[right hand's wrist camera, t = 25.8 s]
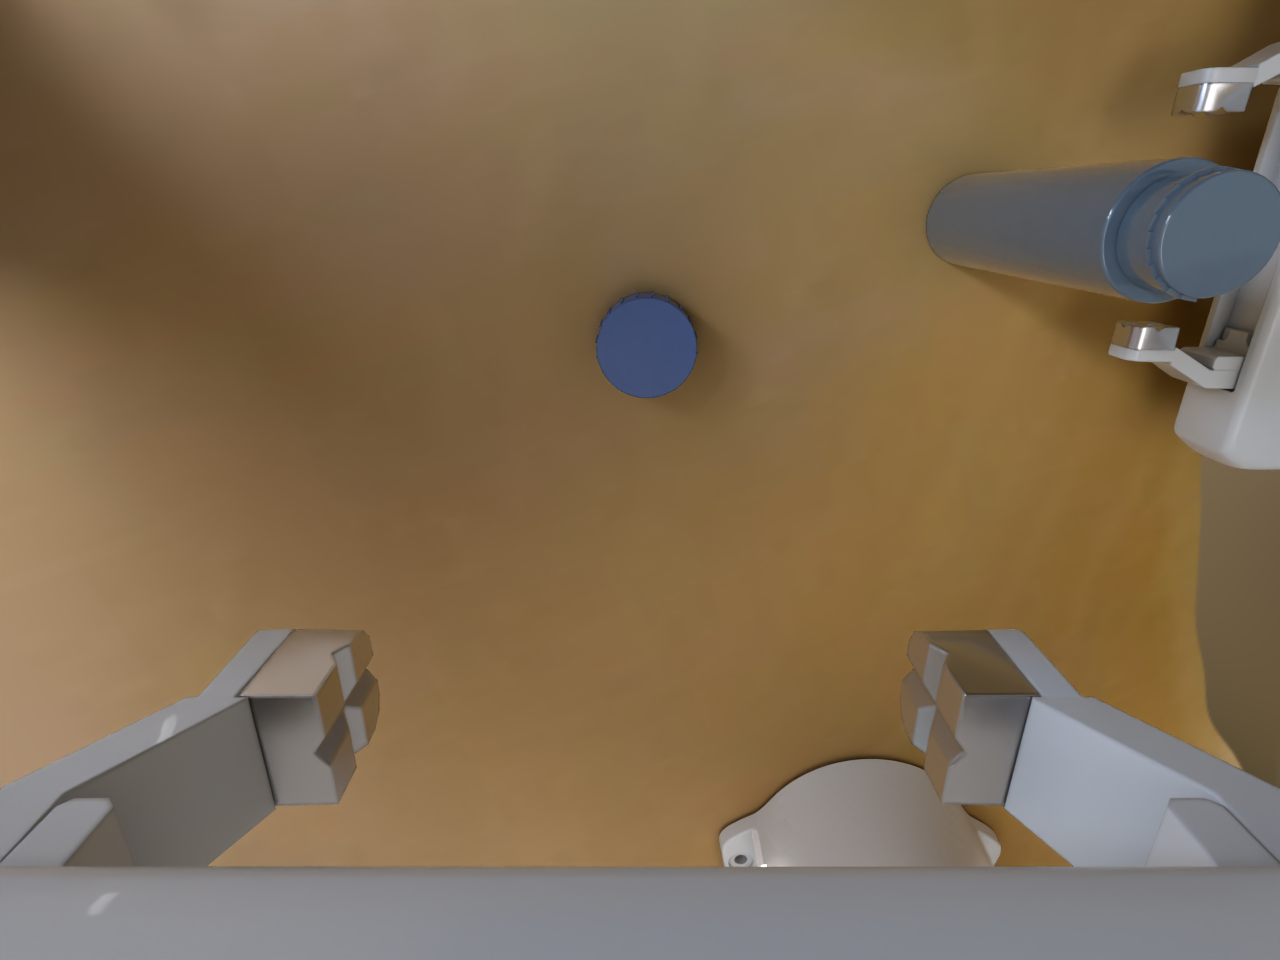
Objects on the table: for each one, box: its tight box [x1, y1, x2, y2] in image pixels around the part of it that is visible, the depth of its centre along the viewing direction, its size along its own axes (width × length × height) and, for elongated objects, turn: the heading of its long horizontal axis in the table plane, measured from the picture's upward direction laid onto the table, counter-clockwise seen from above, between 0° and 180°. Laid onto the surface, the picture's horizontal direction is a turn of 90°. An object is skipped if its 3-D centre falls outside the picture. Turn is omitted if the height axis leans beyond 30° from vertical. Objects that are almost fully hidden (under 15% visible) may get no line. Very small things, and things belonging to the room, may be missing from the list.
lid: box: [596, 291, 698, 398], centre depth 34 cm, size 5×5×2 cm
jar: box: [926, 157, 1280, 303], centre depth 26 cm, size 4×4×16 cm
